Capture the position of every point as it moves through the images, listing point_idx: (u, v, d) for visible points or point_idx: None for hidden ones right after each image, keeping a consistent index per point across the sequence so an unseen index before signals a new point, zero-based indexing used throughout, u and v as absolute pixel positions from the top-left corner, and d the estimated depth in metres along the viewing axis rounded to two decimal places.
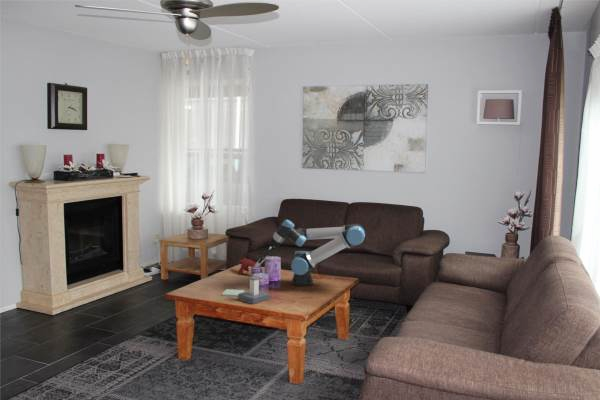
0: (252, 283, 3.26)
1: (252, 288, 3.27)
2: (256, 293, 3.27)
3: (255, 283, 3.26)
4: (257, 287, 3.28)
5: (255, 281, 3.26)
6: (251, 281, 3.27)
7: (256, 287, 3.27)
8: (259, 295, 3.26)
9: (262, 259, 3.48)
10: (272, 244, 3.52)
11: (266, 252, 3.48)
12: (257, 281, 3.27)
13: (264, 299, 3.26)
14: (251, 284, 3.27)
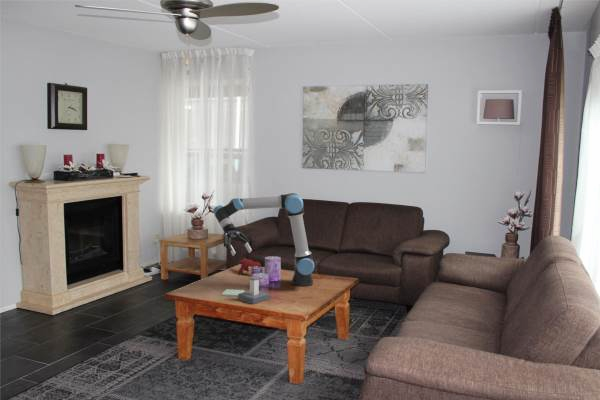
0: (252, 283, 3.26)
1: (252, 288, 3.27)
2: (256, 293, 3.27)
3: (255, 283, 3.26)
4: (257, 287, 3.28)
5: (255, 281, 3.26)
6: (251, 281, 3.27)
7: (256, 287, 3.27)
8: (259, 295, 3.26)
9: (226, 245, 3.29)
10: (225, 231, 3.38)
11: (224, 239, 3.33)
12: (257, 281, 3.27)
13: (264, 299, 3.26)
14: (251, 284, 3.27)
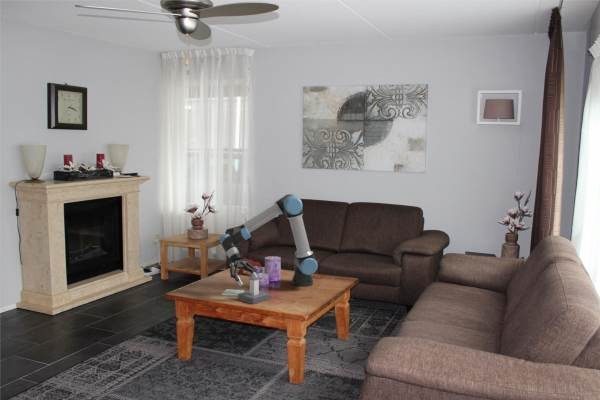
0: (252, 283, 3.26)
1: (252, 288, 3.27)
2: (256, 293, 3.27)
3: (255, 283, 3.26)
4: (257, 287, 3.28)
5: (255, 281, 3.26)
6: (251, 281, 3.27)
7: (256, 287, 3.27)
8: (259, 295, 3.26)
9: (233, 276, 3.26)
10: (232, 261, 3.34)
11: (230, 269, 3.29)
12: (257, 281, 3.27)
13: (264, 299, 3.26)
14: (251, 284, 3.27)
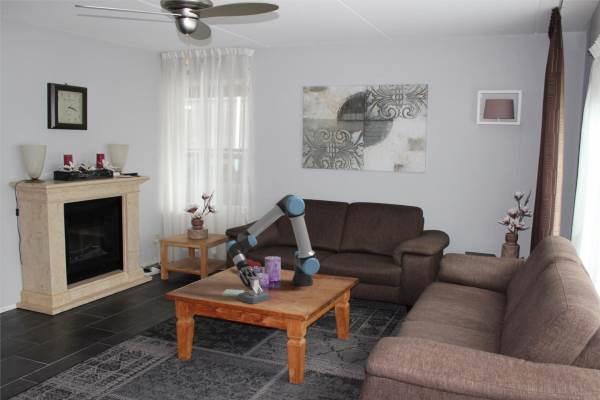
0: (252, 283, 3.26)
1: None
2: (256, 293, 3.27)
3: (255, 283, 3.26)
4: (257, 287, 3.28)
5: (255, 281, 3.26)
6: (251, 281, 3.27)
7: (256, 287, 3.27)
8: (259, 295, 3.26)
9: (247, 284, 3.25)
10: None
11: (241, 278, 3.27)
12: (257, 281, 3.27)
13: (264, 299, 3.26)
14: None
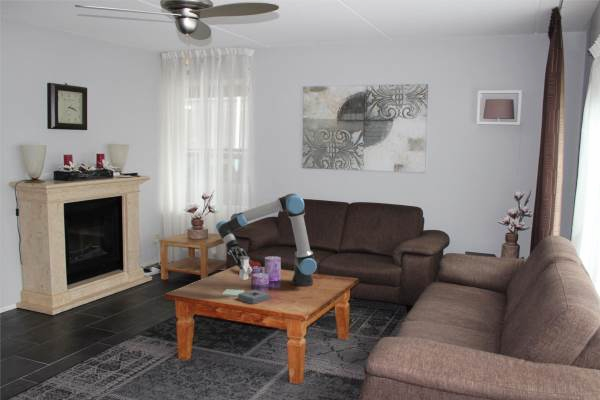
0: (242, 262, 3.30)
1: None
2: (246, 272, 3.31)
3: (245, 262, 3.29)
4: (247, 266, 3.31)
5: (245, 261, 3.29)
6: (241, 260, 3.30)
7: (246, 266, 3.31)
8: (259, 295, 3.26)
9: (237, 263, 3.29)
10: None
11: (231, 257, 3.30)
12: (247, 260, 3.31)
13: (264, 299, 3.26)
14: None
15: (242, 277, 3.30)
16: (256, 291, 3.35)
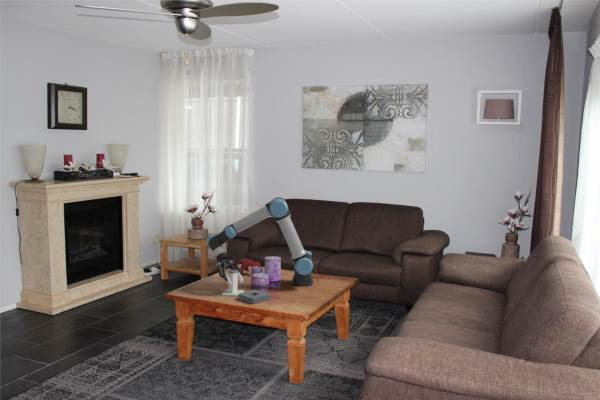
0: (231, 276, 3.38)
1: (231, 281, 3.38)
2: (235, 286, 3.39)
3: (233, 276, 3.38)
4: (236, 280, 3.39)
5: (234, 274, 3.38)
6: (230, 274, 3.39)
7: (235, 280, 3.39)
8: (259, 295, 3.26)
9: (222, 275, 3.35)
10: (217, 260, 3.43)
11: (218, 269, 3.38)
12: (236, 274, 3.39)
13: (264, 299, 3.26)
14: (230, 277, 3.39)
15: (231, 290, 3.39)
16: (256, 291, 3.35)
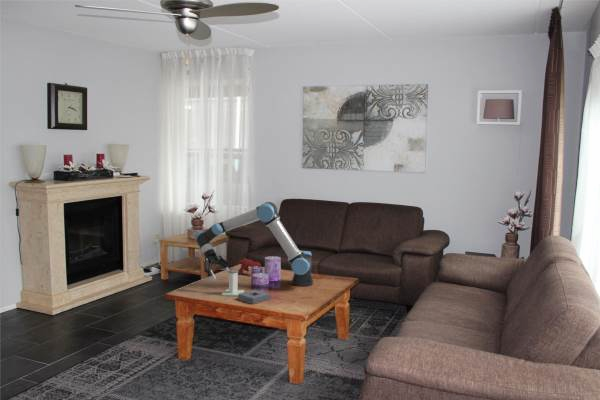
0: (231, 276, 3.38)
1: (231, 281, 3.38)
2: (235, 286, 3.39)
3: (233, 276, 3.38)
4: (236, 280, 3.39)
5: (234, 274, 3.38)
6: (230, 274, 3.39)
7: (235, 280, 3.39)
8: (259, 295, 3.26)
9: (207, 270, 3.43)
10: (206, 257, 3.52)
11: (204, 264, 3.46)
12: (236, 274, 3.39)
13: (264, 299, 3.26)
14: (230, 277, 3.39)
15: (231, 290, 3.39)
16: (256, 291, 3.35)
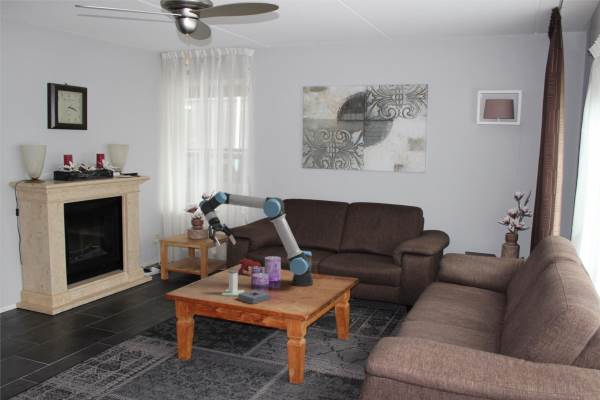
0: (231, 276, 3.38)
1: (231, 281, 3.38)
2: (235, 286, 3.39)
3: (233, 276, 3.38)
4: (236, 280, 3.39)
5: (234, 274, 3.38)
6: (230, 274, 3.39)
7: (235, 280, 3.39)
8: (259, 295, 3.26)
9: (211, 237, 3.45)
10: (210, 224, 3.54)
11: (209, 231, 3.48)
12: (236, 274, 3.39)
13: (264, 299, 3.26)
14: (230, 277, 3.39)
15: (231, 290, 3.39)
16: (256, 291, 3.35)
